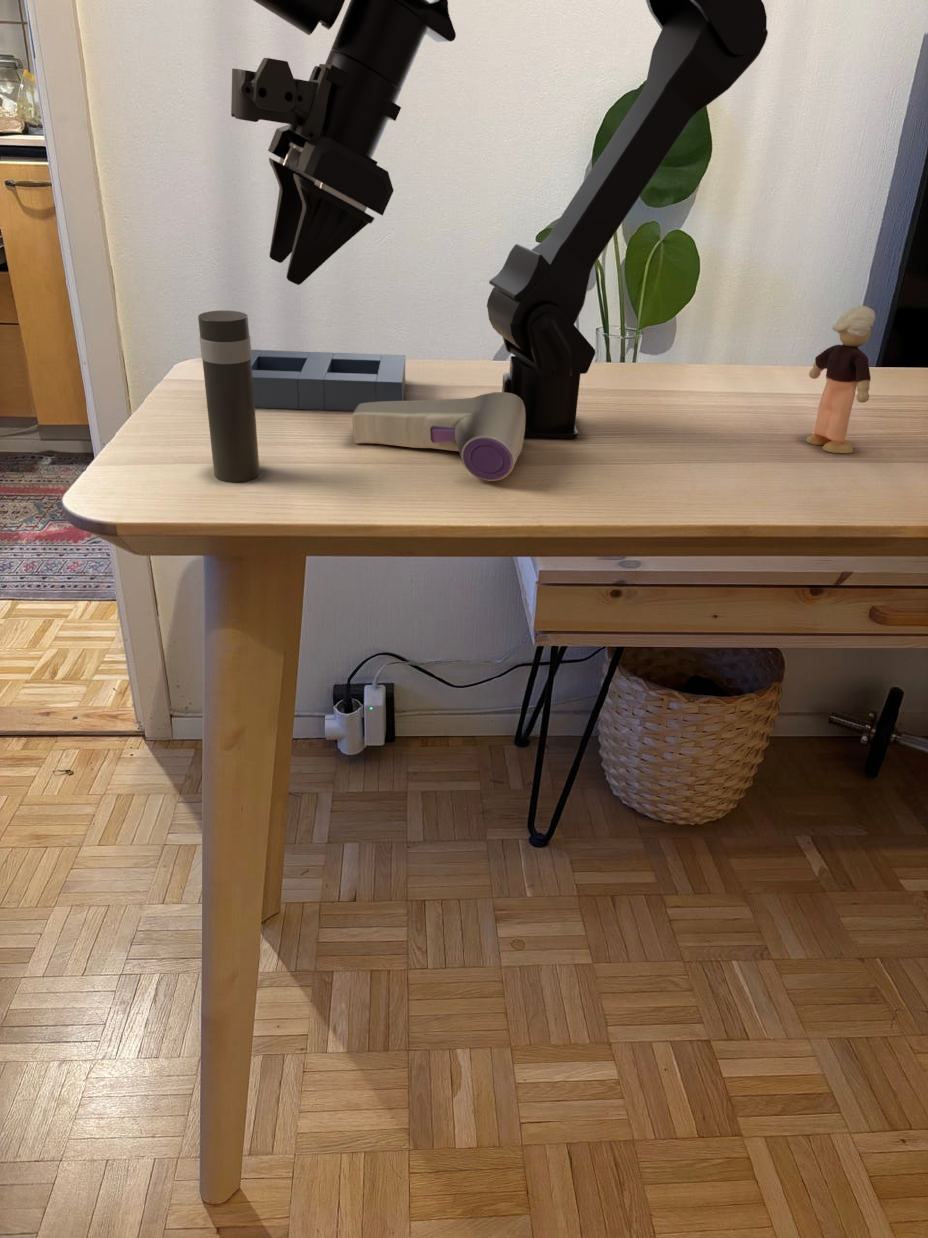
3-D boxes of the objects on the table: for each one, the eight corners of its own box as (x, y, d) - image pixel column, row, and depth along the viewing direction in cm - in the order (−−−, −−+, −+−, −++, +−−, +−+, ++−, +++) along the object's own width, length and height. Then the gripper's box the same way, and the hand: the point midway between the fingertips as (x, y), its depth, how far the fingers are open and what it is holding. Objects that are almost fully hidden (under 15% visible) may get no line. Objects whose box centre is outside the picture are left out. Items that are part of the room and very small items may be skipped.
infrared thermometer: (364, 437, 86) (525, 439, 84) (336, 487, 76) (519, 489, 74) (360, 389, 84) (526, 389, 82) (331, 433, 73) (520, 434, 72)
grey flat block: (405, 383, 99) (405, 354, 97) (401, 412, 90) (402, 382, 88) (240, 377, 98) (237, 348, 96) (220, 406, 89) (218, 375, 88)
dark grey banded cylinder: (263, 466, 77) (252, 310, 70) (256, 483, 73) (243, 322, 67) (218, 464, 76) (203, 309, 70) (209, 481, 73) (192, 320, 67)
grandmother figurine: (872, 453, 85) (912, 313, 79) (845, 460, 84) (883, 316, 77) (807, 428, 91) (839, 295, 85) (780, 434, 89) (810, 298, 83)
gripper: (248, 12, 72) (177, 206, 77) (284, 1, 57) (193, 242, 62) (373, 90, 78) (299, 266, 83) (436, 98, 63) (341, 313, 68)
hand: (283, 270), depth 74 cm, fingers open, 9 cm apart
